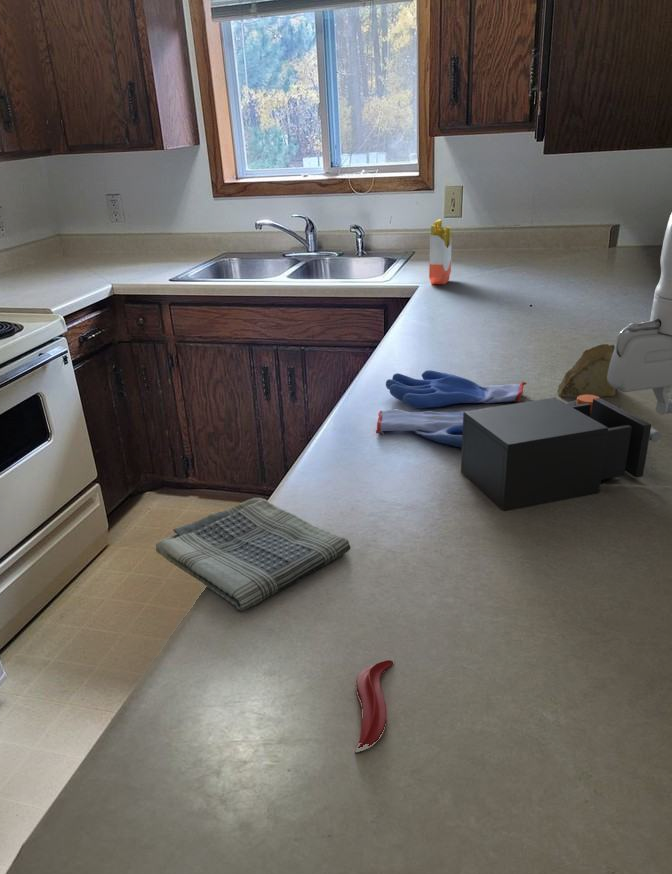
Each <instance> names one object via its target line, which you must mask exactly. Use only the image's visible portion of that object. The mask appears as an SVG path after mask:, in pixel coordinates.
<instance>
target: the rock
mask: <svg viewBox="0 0 672 874" xmlns="http://www.w3.org/2000/svg"><path fill="white" fill-rule="evenodd" d="M615 346H616V345H615V344H608V343H607V344H605V343H603V344H599V345H596V346H593V347H592V348H588V349H586V350H584V351H583V353H582V355H581V356H580V357H579V359H578V360H577V361H576V362H575V364H574V365H572V367H571V368H570V369H569V370H567V371H566V372H565V374H564V377H563V378H562V380H561V381H560V383H559V385H558V387H557V388H558V389H557V390H556V393H557V394H558V396H559V397H561V398H577V397H578V396H580V395H595V396H598V397H600V398H601V397H614V396H615V395H617V394H618V390H617V389H615V388H613V387H612V386H610V384H609V383H608V381H607V375H608V370H609V365H610V362H611V358H612V355H613V351H614V348H615Z"/></svg>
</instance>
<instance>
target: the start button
mask: <svg viewBox="0 0 672 874" xmlns="http://www.w3.org/2000/svg"><path fill="white" fill-rule="evenodd" d="M596 398H601V397H598V396H595V395H580V396H578V397H576V400H577V404H576V405H578V404H584V403H589V404H591V407H590V411H592V403H593V399H596Z"/></svg>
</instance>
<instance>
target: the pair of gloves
mask: <svg viewBox="0 0 672 874" xmlns="http://www.w3.org/2000/svg"><path fill="white" fill-rule="evenodd" d="M421 377H422V379H418V378H413V377H411V376H408V375H405V374H402V373H394V374H392V378H389V379H386V381H385V387H386V389H387V390H388V391H389V393H390V396H392V397H394V398H395V399H397V400H399V401H401V402H403V403H404V404H405V405H406V406H408V407H412V408H415V409H425V408H440V407H446V406H450V405H455V404H472V403H473V404H474V403H475V404H476V403H483V404H494V403H495V404H496V403H510V402H515V404H516V403H520V401H521V397H522V395H523V392H524V386H525V385H527V382H525V381H522V382H520V383H518V384H501V385H494V384H493V385H486V386H484V385H482V384H478V383H477V382H474V381H473V380H470V379H467V378H465V377H462V376H459V375H455V374H452V373H451V374H450V373H448V372H447V373H446V372H440V371H436V370H430V369H429V370H427V369H426V370H424V371H423V372H422V373H421ZM465 411H466V410H462V411H450V412H449V411H447V412H446V411H444V412H442V411H431V410H424V411H422V412H421V411H419V412H418V411H417V412H415V411H414V412H411V411H406V410H403V409H397V408H395V409H388V410H379V412H378V419H377V422H376V429H375V433H376V434H380V433H381V434H382V435H385V433H384V432H414V433H415V434H417V435H419V436H421V437H423V438H425V439H427V440H431V441H434V442H437V443H441V444H444V445H450V446H452V447H457V448H461V449H462V434H463V413H464V412H465Z"/></svg>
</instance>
